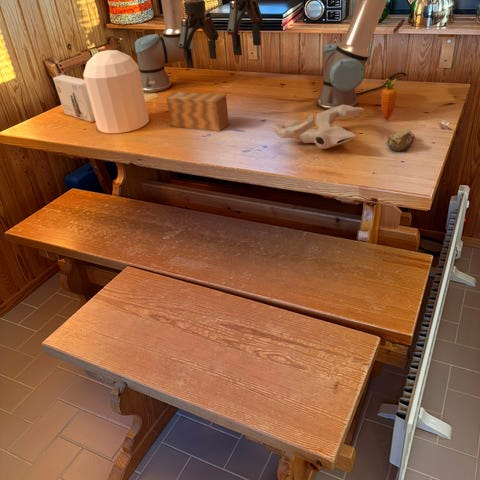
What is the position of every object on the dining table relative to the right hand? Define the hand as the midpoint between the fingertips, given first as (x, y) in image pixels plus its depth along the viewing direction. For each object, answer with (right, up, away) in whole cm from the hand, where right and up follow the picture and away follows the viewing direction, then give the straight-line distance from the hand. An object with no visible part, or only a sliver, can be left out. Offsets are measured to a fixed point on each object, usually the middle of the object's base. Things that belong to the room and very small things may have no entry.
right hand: (247, 50), depth 161 cm
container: (-50, -19, +26) cm, 59 cm away
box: (-18, -22, +17) cm, 33 cm away
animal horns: (+26, -35, -8) cm, 44 cm away
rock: (+49, -36, -13) cm, 62 cm away
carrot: (+50, -24, +5) cm, 55 cm away
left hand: (-17, +1, +15) cm, 23 cm away
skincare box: (-70, -14, +37) cm, 81 cm away
